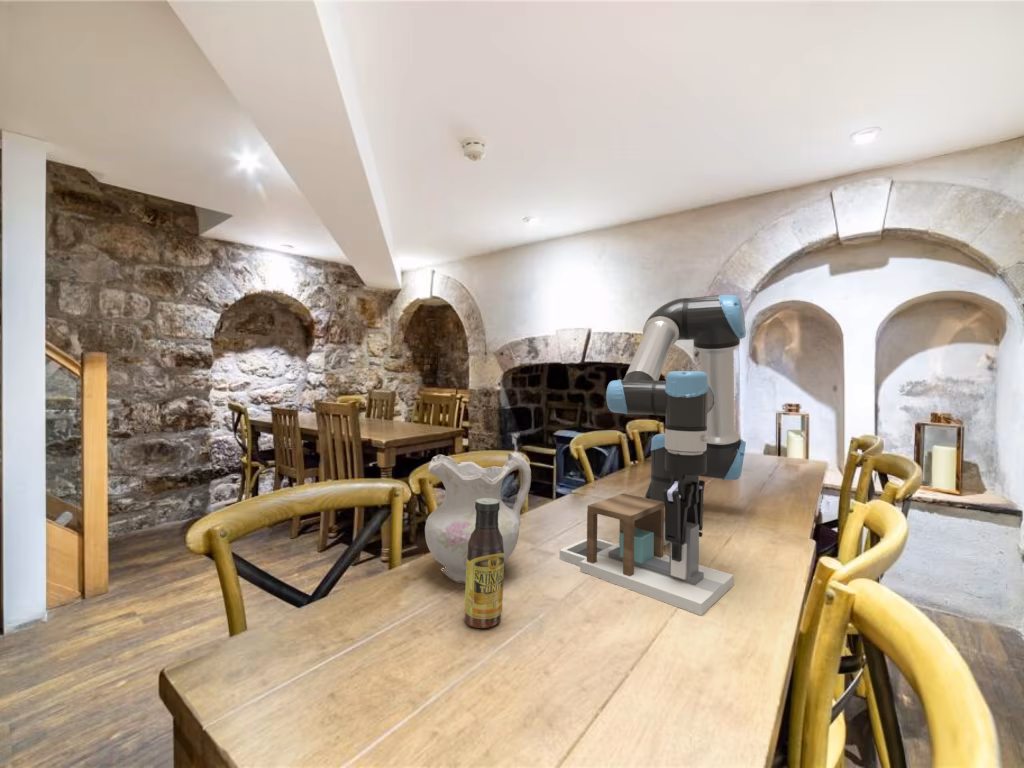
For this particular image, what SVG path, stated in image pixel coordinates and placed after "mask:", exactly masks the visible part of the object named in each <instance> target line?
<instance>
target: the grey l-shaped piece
mask: <svg viewBox="0 0 1024 768" xmlns="http://www.w3.org/2000/svg"><path fill="white" fill-rule="evenodd" d="M699 532H700V530H699V525H698V524H694V523H690V522H686V531H685V541H684V543H686V544H687V569H686V579H681V578H678V577H675V576H672V575H671V542H669V555H668V556H669V562H666V561H663V560H660V559H656V558H653V557H652V558H650V559H649V560H647V561H645V562H644V563H638V562H635V561H634V565H636V566H639V567H642V568H645V569H648V570H651V571H654V572H657V573H660V574H664V575H667V576H670V577H673V578H676V579H679V580H682V581H685V582H688V583H691V584H694V585H695V584H697V583H698V582H699V581H701V580H702V579H703V578H704V573H703V572H700V571H699V565H700V564H699V563H700V562H699V557H700V556H699V555H700V554H699V553H700V537H699ZM608 557H611V558H614V559H617V560H620V561H623V557H620V547H617V548H615V549H613V550H611V551H609V552H608Z"/></svg>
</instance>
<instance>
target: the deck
mask: <svg viewBox="0 0 1024 768" xmlns="http://www.w3.org/2000/svg"><path fill="white" fill-rule="evenodd" d="M617 547H620V546H619V542H618V543H614V542H609V541H606V540H603V539H600V538H597V562H595V563H593V564H592V563H589V562H587V537H586V538H584V539H581V540H579V541H577V542H575V543H572V544H570V545H567V546H565V547H563V548H561V549H559V560H562V561H565V562H568V563H570V564H573V565H575V566H579V568H580V569H579V572H582V573H585V574H587V575H591V576H593V577H595V578H597V579H601V580H603V581H607V582H608V583H611V584H614V585H617V586H620V587H622V588H625V589H628V590H631V591H633V592H636V593H639V594H642V595H643V596H646V597H649V598H653V599H655V600H657V601H661V602H664V603H665V604H668V605H672V606H674V607H677V608H679V609H682V610H684V611H688V612H689V613H693V614H696V615H698V616H703V615H704V614H705V613H706V612H707V610H709V609H710V608H711V607H712V606H713V605H714V604H715V603H716V602H717V601H718V600H719V599H721V598H722V597H723V596H724V595H725V594H726V593H727V592H729V590H730V589H731V588H733V587H734V583H735V582H734V581H735V580H734V579H735V575H734V574H732V573H728V572H724V571H721V570H717V569H715V568H711V567H707V566H705V565H701V564H699V571H700V572H703V573H704V578H703V579H702V580H701V581H699V582H698V583H697V584H695V585H694V584H691V583H688V582H685V581H682V580H679V579H676V578H673V577H670V576H667V575H664V574H660V573H657V572H654V571H651V570H648V569H645V568H642V567H639V566H636V565H634V574H633V575H632V576H630V577H629V576H627V575H624V574H623V561H620V560H617V559H614V558H611V557H608V552H609V551H611V550H613V549H615V548H617ZM653 558H656V559H660V560H663V561H666V562H669V555H667V554H664V553H663V557H661V558H659V557H656V556H654V557H653Z"/></svg>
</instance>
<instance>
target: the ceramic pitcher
mask: <svg viewBox="0 0 1024 768" xmlns="http://www.w3.org/2000/svg"><path fill="white" fill-rule="evenodd" d="M506 455H507V456H508V458H507V460H506V462H505V463H504V465H502V467H501V466H495V465H494V466H490V467H484V468H483V467H482V466H480V465H479V464H477V463H476V462H474V461H461V462H458V463H457V462H456V460H455V459H454V458H453V457H451V456H448V455H447V456H446V455H444V454H437V455H435V456H433V457H432V458H431V461H429V463H428V466H427V467H428V469H427V470H428V473H429V474H431V475H432V476H435V477H437V478H438V479H439V480H440V481H441V482H442V484H443V486H444V488H445V496H444V500H443V501H442V503H441V504H440V505H439V506H438V507H436V508H435V509H434V510H433V511H432V512H431V513H430V514H429V515H428V516H427V518H426V521H425V526H424V538H425V542H426V546H427V547H428V550H429V552H430V553H431V555H432V556H433V559H435V560H436V561H437V562H438V563H439V564H441V565H442V566H443V567H446V568H444V569H442V570H443V572H442V573H443V574H444V575H445V576H446V577H448V579H451V580H452V581H453V582H456V583H459V584H464V585H466V563H467V555H468V542H469V539H470V537H471V534H472V532H473V531H474V530H475V523H476V509H475V503H476V500H477V499H481V498H493V499H497V500H499V502H500V509H499V511H498V528H499V531H500V533H501V535H502V538H503V547H504V563H505V562H506V561H507V560H508V559H509V557H510V556H511V555H512V553H513V552H514V551H515V548H516V547H517V544H518V540H519V535H520V526H521V510H522V508H523V506H525V503H526V501H527V498H528V494H529V491H530V488H531V483H532V482H531V481H532V475H531V474H532V470H531V467H530V466H531V465H530V463H528V461H527V460H526V459H525V454H522V452H521V451H518V450H516V451H510V452H509V453H507V454H506ZM516 470H519V472H520V480H521V484H520V488H519V490H518V492H517V495H516V497H515V501H514V504H513V507H512V508H510V507H508V506H507V505H506V504H505V503H504V502H503V500H502V497H501V489H502V487H503V481H504V480H505V478H506V477H507V476H508V475H509V474H510V473H512V472H513V471H516Z"/></svg>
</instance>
